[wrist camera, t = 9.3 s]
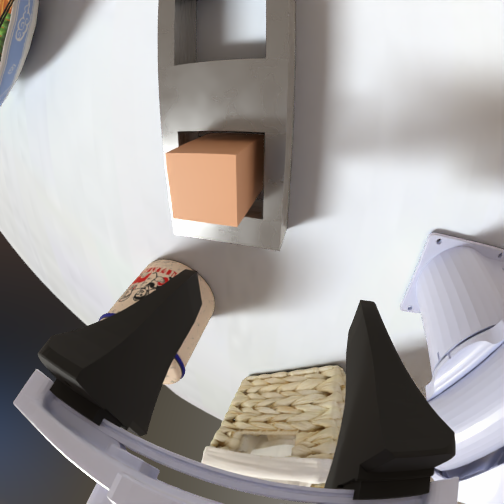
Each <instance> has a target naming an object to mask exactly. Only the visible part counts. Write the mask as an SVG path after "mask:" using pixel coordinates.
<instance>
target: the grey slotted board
mask: <svg viewBox="0 0 504 504" xmlns="http://www.w3.org/2000/svg"><path fill="white" fill-rule="evenodd" d="M196 8H197V0H159V6H158V80H159V101H160V116H161V129H162V141H163V151H164V161H165V170H166V179H167V187H168V194H169V202H170V209H171V216H172V222H173V228H174V235H180V236H187V237H194V238H200V239H207V240H213V241H220V242H226V243H233V244H239V245H246V246H252V247H258V248H265V249H271V250H278V251H280V248H281V245H282V242H283V239H284V236H285V233H286V230H287V220H288V206H289V192H290V176H291V159H292V140H293V118H294V90H295V37H296V11H295V0H266V58H255V59H230V60H216V61H206V62H197V63H196ZM198 131H246V132H265V159H264V200H259V199H256V200H255V201H254V203H253V204H252V206H251V207H250V209H249V210H248V212H247V213H246V215H245V216H244V218H243V219H242V221H241V222H240V224H239V225H238V227H233V226H226V225H218V224H211V223H203V222H195V221H188V220H180V219H173V214H172V207H171V199H170V192H169V184H168V176H167V167H166V157H165V153H167V152H169V151H171V150H173V149H175V148H177V147H179V146H181V145H183V144H185V143H188V142H190V141H192V140H194V139H197V138H199V133H198Z"/></svg>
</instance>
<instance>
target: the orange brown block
mask: <svg viewBox="0 0 504 504" xmlns="http://www.w3.org/2000/svg"><path fill="white" fill-rule="evenodd" d="M165 157H166V167H167V176H168V184H169V192H170V199H171V207H172V214H173V219H180V220H188V221H195V222H203V223H211V224H218V225H226V226H233V227H238V225H239V224H240V222H241V221H242V219H243V218H244V216H245V215H246V213H247V212H248V210H249V209H250V207H251V206H252V204H253V203H254V201H255V200H256V198H257V197H258V195H259V194H260V192H261V191H262V189H263V176H264V135H263V134H243V133H208V134H206V135H203V136H201V137H199V138H197V139H194V140H192V141H190V142H188V143H185V144H183V145H181V146H179V147H177V148H175V149H173V150H171V151H169V152H167V153H165Z"/></svg>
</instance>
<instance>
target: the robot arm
mask: <svg viewBox="0 0 504 504" xmlns="http://www.w3.org/2000/svg"><path fill="white" fill-rule="evenodd" d="M438 239H441V240H440V241H439V242H436V241H437V240H438ZM499 254H500V255H499ZM201 306H202V299H201V292H200V286H199V280H198V273H197V271H193V270H188V269H185V270H183V271H182V272H180V273H179V274H177V275H176V276H174V277H173V278H171V279H170V280H169V281H167V282H166V283H164V284H163V285H162V286H160V287H159V288H157V289H156V290H154V291H153V292H151V293H150V294H148V295H147V296H145V297H144V298H142V299H140V300H139V301H137V302H136V303H134V304H133V305H131V306H129V307H127V308H126V309H124V310H122V311H120V312H118V313H116V314H114V315H112V316H110V317H108V318H105V319H103V320H101V321H98V322H96V323H94V324H91V325H88V326H86V327H83V328H80V329H76V330H74V331H69V332H66V333H61V334H57V335H53V336H51V338H50V339H49V340H48V341H47V343H46V344H45V345H44V347H43V348H42V349H41V350H40V352H39V353H38V356H39V359H40V360H41V361H42V362H43V364H44V365H45V366H46V367H47V369H48V370H49V371H50V372H51V373H52V374H53V375H54V376H55V378H56V381H55V382H52V380H50V379H49V378H48V377H47V376H45V375H44V374H43V373H41V372H40V371H39V370H38V369H36V370H35V372H34V373H33V375H32V376H31V377H30V379H29V380H28V382H27V383H26V384H25V386H24V387H23V389H22V390H21V392H20V393H19V395H18V396H17V398H16V399H15V401H14V402H13V403H14V405H15V406H16V407H17V408H18V409H19V410H20V411H21V412H22V414H23V415H24V416H25V417H26V418H27V419H28V420H29V421H30V422H31V423H32V424H33V425H34V426H35V427H36V428H37V429H38V430H39V431H40V433H42V435H43V436H44V437H45V438H47V440H48V441H49V442H50V443H51V444H52V445H53V446H55V447H56V448H57V449H58V450H59V451H60V452H61V453H62V454H63V455H64V456H65V457H67V458H68V459H69V460H70V461H71V462H72V463H73V464H75V465H76V466H77V467H78V468H79V469H81V470H82V471H83V472H84V473H86V474H87V475H88V476H89V477H91V478H92V479H93V480H95V481H96V482H97V484H96V486H95V488H94V490H93V492H92V494H91V496H90V498H89V500H88V502H87V503H86V504H223V503H219V502H216V501H213V500H210V499H207V498H204V497H200V496H197V495H195V494H192V493H189V492H186V491H183V490H181V489H178V488H176V487H174V486H171V485H169V484H166V483H164V482H162V481H159V480H157V476H158V474H159V472H160V471H159V469H157V468H155V467H153V466H151V465H150V464H148V463H146V462H145V461H143V460H142V459H140V458H138V457H136V456H134V455H132V454H130V453H128V452H127V451H126V448H125V447H127V448H129V449H131V450H133V451H135V452H137V453H139V454H141V455H143V456H145V457H147V458H149V459H151V460H153V461H156V462H158V463H160V464H163V465H165V466H167V467H169V468H172V469H175V470H177V471H179V472H182V473H185V474H187V475H190V476H193V477H195V478H198V479H201V480H204V481H207V482H211V483H213V484H217V485H220V486H224V487H227V488H231V489H234V490H238V491H243V492H247V493H251V494H255V495H260V496H265V497H271V498H277V499H282V500H289V501H297V502H305V503H316V504H457V501H458V502H462V503H465V504H504V249H501V248H497V247H494V246H490V245H486V244H482V243H478V242H474V241H470V240H465V239H461V238H457V237H453V236H448V235H444V234H439V233H430V234H429V235H428V237H427V240H426V243H425V246H424V248H423V251H422V254H421V257H420V259H419V262H418V264H417V267H416V269H415V272H414V274H413V277H412V279H411V281H410V284H409V286H408V288H407V291H406V293H405V295H404V297H403V300H402V302H401V304H400V309H401V310H402V311H406V312H414V313H421V316H422V321H423V326H424V330H425V335H426V341H427V346H428V352H429V358H430V364H431V372H432V380H431V382H430V383H429V384H427V385H426V386H425V388H426V399H425V397H424V396H423V395H422V393H421V392H420V391H419V389H418V388H417V386H416V385H415V383H414V382H413V380H412V379H411V377H410V375H409V374H408V372H407V370H406V368H405V367H404V365H403V363H402V361H401V359H400V357H399V355H398V353H397V351H396V349H395V347H394V345H393V343H392V341H391V339H390V337H389V335H388V332H387V330H386V328H385V326H384V323H383V321H382V319H381V316H380V314H379V311H378V309H377V307H376V304H375V303H374V302H371V301H365V300H360V303H359V305H358V308H357V311H356V314H355V316H354V319H353V322H352V324H351V327H350V329H349V333H348V342H347V351H346V393H345V405H344V411H343V417H342V423H341V428H340V432H339V437H338V441H337V445H336V449H335V453H334V457H333V461H332V464H331V467H330V471H329V474H328V477H327V480H326V483H325V486H324V488H315V487H306V486H298V485H290V484H284V483H278V482H272V481H267V480H262V479H258V478H253V477H249V476H245V475H240V474H237V473H233V472H229V471H226V470H222V469H219V468H215V467H212V466H209V465H206V464H203V463H200V462H197V461H194V460H191V459H188V458H186V457H183V456H181V455H178V454H175V453H173V452H171V451H168V450H166V449H163V448H161V447H158V446H156V445H154V444H152V443H150V442H148V441H146V440H144V439H141V438H139V437H137V436H135V435H133V434H131V433H129V432H127V431H126V430H129V431H131V432H133V433H135V434H137V435H139V436H142V435H145V434H147V431H148V427H149V423H150V420H151V416H152V413H153V410H154V407H155V403H156V401H157V397H158V395H159V392H160V390H161V387H162V384H163V382H164V379H165V377H166V375H167V372H168V370H169V367H170V365H171V363H172V361H173V359H174V358H175V356H176V354H177V352H178V351H179V349H180V347H181V345H182V344H183V342H184V340H185V339H186V337H187V335H188V333H189V332H190V330H191V328H192V326H193V324H194V323H195V321H196V318H197V316H198V313H199V311H200V308H201ZM409 306H411V307H409ZM120 427H122V428H124V429H125V430H124V429H122V428H120ZM430 476H431V477H432V478H433V479H434V481H433V482H430Z"/></svg>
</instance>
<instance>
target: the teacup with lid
mask: <svg viewBox="0 0 504 504" xmlns="http://www.w3.org/2000/svg"><path fill="white" fill-rule="evenodd" d="M185 269H188V270H192V269H191V268H189V267H187V266H186V265H184V264H181V263H179V262H176V261H172V260H157V261H154V262H152V263H150V264H149V265H148V266H147V267H146V268H145V269H144V270H143V271H142V273H141V274H140V275H139V276H138V277H137V278H136V279H135V281H134V282H133V283H132V284H131V285H130V286H129V288H128V289H127V290H126V291H125V292H124V294H123V295H122V296H121V297H120V298H119V300H118V301H117V302H116V303H115V304H114V306H113V307H112V308H111V309H110V310H109V312H108V313H106V314H104V315H102V316H101V317H100V319H99V321H101V320H103V319H105V318H108V317H110V316H112V315H114V314H116V313H118V312H120V311H122V310H124V309H126V308H127V307H129V306H131V305H133V304H134V303H136V302H137V301H139V300H140V299H142V298H144V297H145V296H147V295H148V294H150V293H151V292H153V291H154V290H156V289H157V288H159V287H160V286H162V285H163V284H164V283H166V282H167V281H169V280H170V279H171V278H173V277H174V276H176V275H177V274H179V273H180V272H182V271H183V270H185ZM193 271H194V270H193ZM198 280H199V286H200V292H201V299H202V306H201V308H200V311H199V313H198V316H197V318H196V321H195V323H194V324H193V326H192V328H191V330H190V332H189V333H188V335H187V337H186V339H185V340H184V342H183V344H182V345H181V347H180V349H179V351H178V352H177V354H176V356H175V358H174V359H173V361H172V363H171V365H170V367H169V370H168V372H167V375H166V377H165V379H164V382H163V384H173V383H176V382H178V381H179V380H180V379H181V378H182V377H183V376H184V374H185V366H186V364H187V362H188V360H189V359H190V357H191V355H192V353H193V351H194V349H195V347H196V345H197V343H198V341H199V339H200V337H201V335H202V333H203V331H204V329H205V327H206V326H207V324H208V322H209V320H210V318H211V316H212V314H213V312H214V308H215V300H214V296H213V293H212V291H211V289H210V287H209V286H208V284H207V283H206V282H205V280H204V279H203V278H202V277H201V276H200V275H199V274H198Z"/></svg>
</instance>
